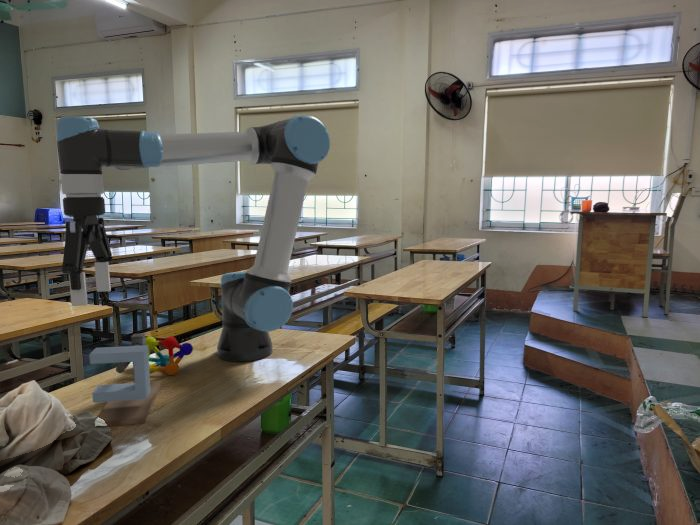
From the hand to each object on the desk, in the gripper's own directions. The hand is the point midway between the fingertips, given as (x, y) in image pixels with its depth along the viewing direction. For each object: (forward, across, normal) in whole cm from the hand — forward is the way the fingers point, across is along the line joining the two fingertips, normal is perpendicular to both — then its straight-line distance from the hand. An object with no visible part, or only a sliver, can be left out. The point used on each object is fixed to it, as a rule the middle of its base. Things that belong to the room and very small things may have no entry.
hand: (92, 297), depth 103 cm
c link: (+19, +7, +7) cm, 22 cm away
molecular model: (+23, -16, +8) cm, 30 cm away
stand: (+23, +3, +7) cm, 24 cm away
